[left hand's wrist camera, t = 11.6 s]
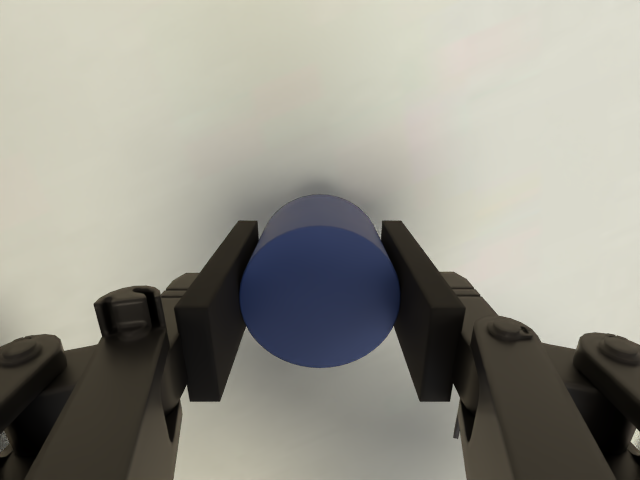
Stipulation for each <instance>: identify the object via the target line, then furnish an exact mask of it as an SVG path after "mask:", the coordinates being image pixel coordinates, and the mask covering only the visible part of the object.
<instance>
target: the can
mask: <svg viewBox="0 0 640 480" xmlns="http://www.w3.org/2000/svg"><path fill="white" fill-rule="evenodd" d="M400 299H401V291H400V284H399V280H398V277H397V274H396V271H395V269H394V267H393V265H392V263H391V261H390V259H389V256H388V254H387V252H386V250H385V248H384V246H383V244H382V242H381V240H380V238H379V236H378V234H377V232H376V229H375V227H374V225H373V224H372V222H371V221H370V219H369V218H368V216H367V215H366V214H365V213H364V212H363V211H362V210H361V209H360V208H358V207H357V206H355V205H354V204H353V203H351V202H349V201H347V200H345V199H342V198H339V197H336V196H331V195H321V194H319V195H309V196H304V197H301V198H298V199H295V200H293V201H291V202H289V203H287V204H286V205H284V206H283V207H281V208H280V209H279V210H278V211H277V212H276V213H275V214H274V215H273V216H272V217H271V219H270V220H269V222H268V223H267V225H266V227H265V229H264V231H263V233H262V235H261V237H260V239H259V241H258V244H257V246H256V248H255V250H254V252H253V254H252V256H251V258H250V260H249V262H248V264H247V266H246V269H245V271H244V273H243V276H242V279H241V283H240V289H239V303H240V310H241V314H242V317H243V320H244V322H245V324H246V326H247V328H248V330H249V331H250V333H251V334H252V336H253V337H254V338H255V339H256V341H257V342H258V343H259V344H260V345H261V346H262V347H263V348H265V349H266V350H267V351H269V352H270V353H271V354H273V355H274V356H276V357H278V358H280V359H282V360H284V361H287V362H289V363H292V364H296V365H299V366H305V367H313V368H327V367H335V366H340V365H344V364H348V363H350V362H353V361H355V360H358V359H360V358H362V357H363V356H365V355H367V354H368V353H370V352H371V351H373V350H374V349H375V348H376V347H377V346H379V345H380V344H381V343H382V341H383V340H384V339H385V338H386V337H387V335H388V334H389V333H390V331H391V330H392V328H393V326H394V324H395V322H396V319H397V316H398V313H399V308H400Z"/></svg>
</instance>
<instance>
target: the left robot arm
mask: <svg viewBox="0 0 640 480" xmlns="http://www.w3.org/2000/svg"><path fill="white" fill-rule="evenodd" d="M258 241H259V237H258V222H257V221H238V222H237V224H236V225H235V226H234V228H233V229H232V230H231V232H230V233H229V234H228V236H227V237H226V238H225V240H224V241H223V242H222V244H221V245H220V246H219V248H218V249H217V250H216V252H215V253H214V254H213V256H212V257H211V258H210V260H209V261H208V262H207V264H206V265H205V267H204V268H203V269H202V271H201V272H200V273H185V274H184V275H182V276H180V277H178V278H177V279H175V280H173V281H172V283H171V284H170V285H169V286H168V287H167V288H166V291H164V292H163V293H162V294H160V291H159V290H158V289H157V288H155V287H151V286H132V287H126V288H122V289H119V290H116V291H113V292H110V293H108V294H106V295H104V296H103V297H101V298H99V299H98V300H97V301H96V302H95V303H94V308H95V311H96V315H97V319H98V323H99V326H100V330H101V334H102V338H101V340H100V341H99V343H98V344H97V345H93V346H88V347H83V348H77V349H72V350H67V351H64V350H63V346H62V343H61V340H60V339H59V338H58V337H56V336H55V335H48V334H42V335H31V336H26V337H25V338H23V337H22V338H19V339H16V340H14V341H12V342H10V343H8V344H6V345H3V346H1V347H0V434H1V433H2V432H3V431H5V433H6V435H7V438H8V440H9V442H10V444H9V445H8V446H7V447H6V448H5V449H4V450H3V451H2V452H1V453H0V480H173V479H174V472H175V464H176V457H177V450H178V443H179V436H180V428H181V421H182V407H181V402H180V397H181V395H182V393H183V391H184V389H185V387H186V385H187V388H188V393H189V399H190V402H220V400H221V397H222V394H223V391H224V388H225V386H226V383H227V380H228V377H229V374H230V371H231V368H232V365H233V362H234V359H235V356H236V354H237V351H238V348H239V345H240V342H241V339H242V336H243V333H244V330H245V327H246V324H245V322H244V320H243V317H242V314H241V310H240V303H239V289H240V283H241V279H242V276H243V273H244V271H245V269H246V266H247V264H248V262H249V260H250V258H251V256H252V254H253V252H254V250H255V248H256V246H257V244H258ZM381 242H382V244H383V246H384V248H385V250H386V252H387V254H388V256H389V259H390V261H391V263H392V265H393V267H394V269H395V271H396V274H397V277H398V280H399V284H400V291H401V299H400V308H399V313H398V316H397V319H396V322H395V324H394V328H395V331H396V334H397V337H398V340H399V343H400V346H401V348H402V351H403V354H404V357H405V360H406V363H407V366H408V369H409V372H410V375H411V378H412V380H413V383H414V386H415V389H416V392H417V395H418V398H419V401H420V402H450V398H451V392H452V386H453V384H454V386H455V388H456V390H457V392H458V394H459V396H460V402H459V407H458V413H457V418H456V424H455V429H454V436H453V438H457V439H458V437H459V431H460V435H461V442H462V449H463V456H464V463H465V471H466V478H467V480H640V451H639V450H638V449H637V448H636V447H635V446H634V445H633V444H632V443H631V442H630V441H631V439H632V437H633V435H634V432H635V430H636V428H637V429H638V430H639V431H640V345H639V344H636V343H634V342H632V341H629V340H628V339H626V338H624V337H621V336H615V335H613V334H608V333H607V334H605V333H596V332H594V333H587V334H584V335H583V336H581V337H580V339H579V342H578V345H577V349H571V348H566V347H561V346H555V345H550V344H545V343H541V341H540V339H539V337H538V336H537V334H536V333H535V332H534V331H533V330H532V329H531V328H529V327H528V326H526V325H525V324H523V323H521V322H519V321H516V320H514V319H511V318H507V317H502V316H498V315H497V313H496V312H495V311H494V310H493V309H492V308H491V307H490V305H489V304H488V303H487V302H486V301H485V300H484V299H483V297H480V294H479V293H478V292H477V291H476V289H474V287H473V286H472V285H471V284H470V283H469V281H468V280H467V279H465V278H464V277H462V276H460V275H458V274H457V273H455V272H439V271H438V270H437V268H436V267H435V266H434V264H433V263H432V262H431V260H430V259H429V257H428V256H427V255H426V253H425V252H424V251H423V249H422V248H421V247H420V245H419V244H418V243H417V241H416V240H415V239H414V237H413V236H412V235H411V233H410V232H409V231H408V229H407V228H406V227H405V225H404V224H403V223H402V221H382V233H381Z"/></svg>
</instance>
